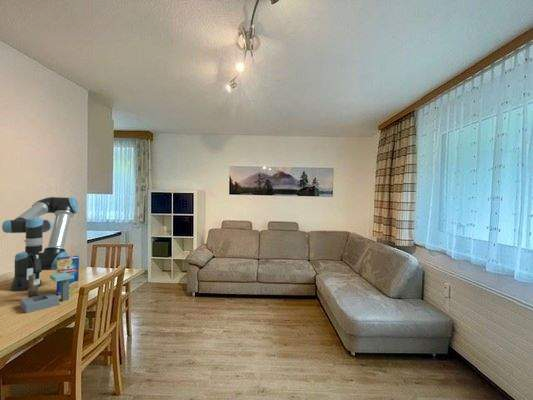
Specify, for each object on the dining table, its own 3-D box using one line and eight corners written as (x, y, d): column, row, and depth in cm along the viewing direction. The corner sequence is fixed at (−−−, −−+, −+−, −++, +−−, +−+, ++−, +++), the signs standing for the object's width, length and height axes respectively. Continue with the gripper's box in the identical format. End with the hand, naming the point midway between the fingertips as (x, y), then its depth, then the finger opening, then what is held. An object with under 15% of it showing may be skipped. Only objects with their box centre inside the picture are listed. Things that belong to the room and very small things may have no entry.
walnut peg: (27, 299, 158) (27, 275, 157) (36, 297, 161) (37, 274, 161) (29, 301, 155) (29, 277, 155) (39, 299, 158) (39, 275, 158)
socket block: (20, 306, 148) (20, 299, 148) (52, 299, 159) (52, 292, 159) (26, 313, 141) (26, 305, 141) (59, 304, 152) (59, 297, 152)
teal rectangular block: (49, 300, 157) (50, 274, 157) (65, 297, 163) (65, 272, 163) (54, 305, 152) (55, 278, 152) (70, 301, 158) (71, 275, 158)
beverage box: (78, 292, 171) (79, 257, 171) (56, 296, 165) (56, 259, 164) (77, 289, 177) (78, 255, 176) (56, 292, 170) (57, 257, 170)
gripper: (19, 243, 162) (18, 278, 162) (31, 248, 147) (30, 288, 147) (35, 241, 168) (35, 276, 168) (49, 247, 153) (48, 284, 153)
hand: (33, 281), depth 157 cm, fingers open, 13 cm apart
